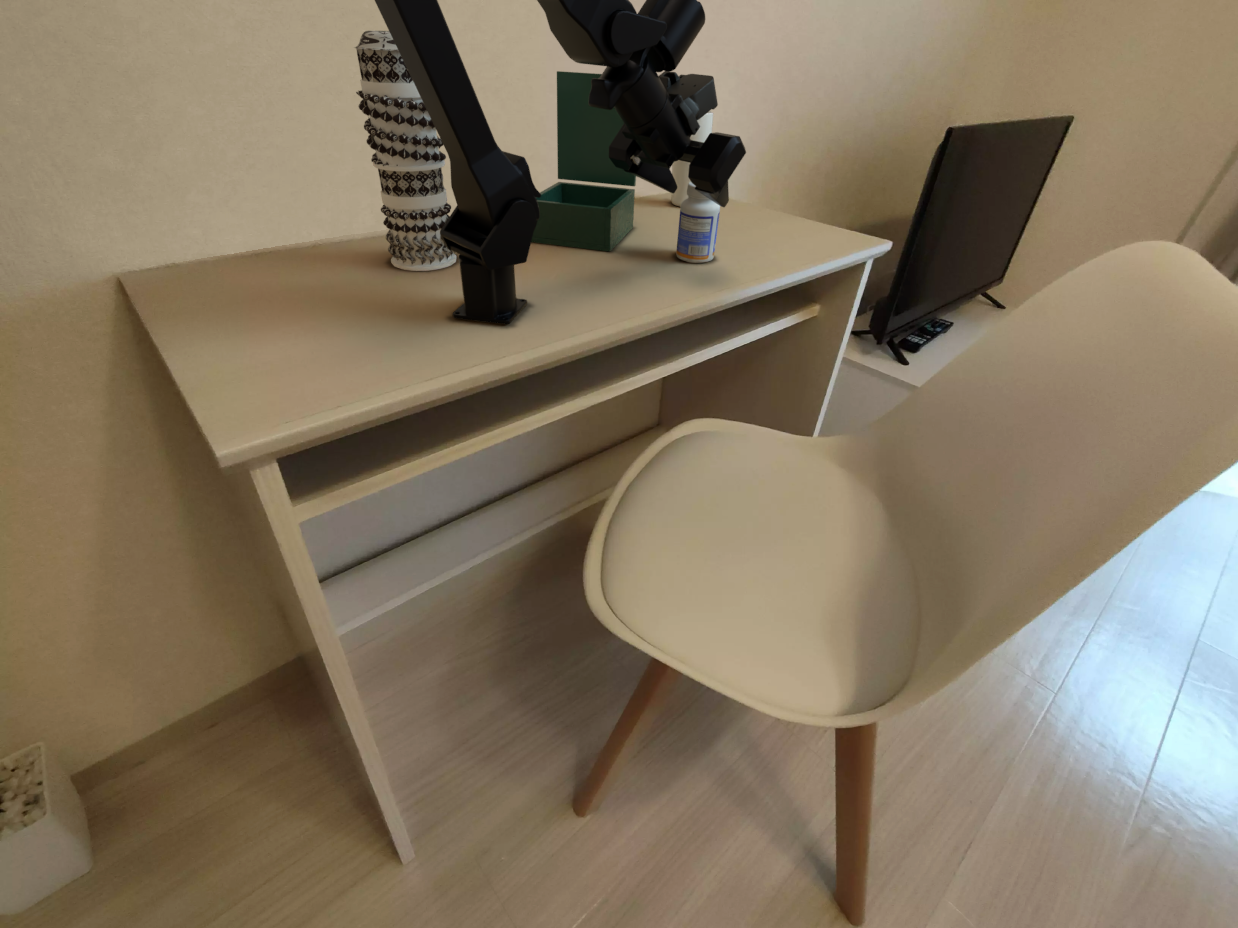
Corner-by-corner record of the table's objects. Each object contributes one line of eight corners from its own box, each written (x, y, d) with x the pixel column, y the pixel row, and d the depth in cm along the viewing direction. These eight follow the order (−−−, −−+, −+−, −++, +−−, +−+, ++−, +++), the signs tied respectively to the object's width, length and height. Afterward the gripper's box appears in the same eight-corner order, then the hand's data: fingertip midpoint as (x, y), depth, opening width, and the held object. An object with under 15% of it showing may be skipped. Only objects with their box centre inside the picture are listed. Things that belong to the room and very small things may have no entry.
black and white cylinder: (372, 264, 79) (324, 29, 65) (420, 246, 86) (387, 30, 72) (428, 276, 76) (391, 33, 62) (473, 257, 83) (449, 33, 69)
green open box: (609, 251, 87) (610, 209, 84) (528, 241, 90) (525, 200, 86) (633, 227, 98) (634, 189, 95) (559, 219, 101) (558, 181, 97)
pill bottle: (689, 249, 90) (696, 178, 84) (720, 257, 87) (730, 184, 81) (668, 257, 86) (674, 183, 81) (700, 266, 84) (708, 190, 78)
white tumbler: (660, 201, 113) (667, 109, 104) (691, 199, 116) (700, 108, 107) (678, 210, 108) (686, 114, 100) (710, 207, 111) (721, 113, 102)
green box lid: (640, 76, 86) (647, 76, 90) (556, 71, 89) (566, 71, 92) (634, 186, 94) (641, 182, 98) (557, 179, 97) (566, 175, 100)
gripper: (749, 51, 63) (790, 157, 76) (628, 42, 74) (682, 136, 87) (689, 141, 64) (741, 232, 76) (578, 119, 75) (639, 202, 87)
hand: (699, 197), depth 82 cm, fingers open, 9 cm apart
